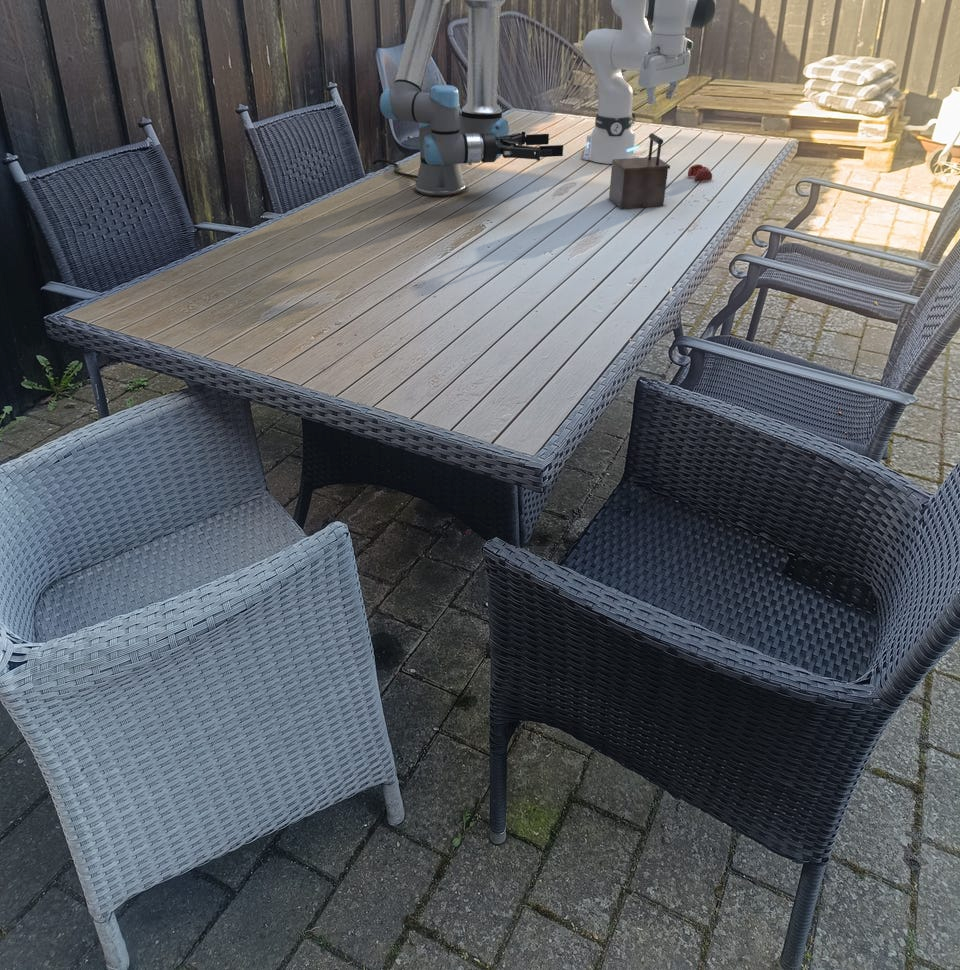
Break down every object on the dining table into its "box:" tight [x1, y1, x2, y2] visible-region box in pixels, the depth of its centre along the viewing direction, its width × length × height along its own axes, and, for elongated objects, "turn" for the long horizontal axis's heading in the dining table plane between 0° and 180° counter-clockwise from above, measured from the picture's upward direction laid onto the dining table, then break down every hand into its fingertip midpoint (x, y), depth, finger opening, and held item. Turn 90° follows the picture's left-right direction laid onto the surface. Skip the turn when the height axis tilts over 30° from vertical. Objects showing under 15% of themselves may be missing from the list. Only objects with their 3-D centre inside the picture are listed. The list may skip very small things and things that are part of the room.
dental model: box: [687, 163, 713, 182], centre depth 266 cm, size 6×4×8 cm
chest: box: [608, 162, 669, 210], centre depth 245 cm, size 13×10×10 cm
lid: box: [612, 132, 671, 172], centre depth 240 cm, size 14×10×8 cm
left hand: (555, 144), depth 233 cm, fingers open, 13 cm apart
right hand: (660, 100), depth 233 cm, fingers open, 8 cm apart
